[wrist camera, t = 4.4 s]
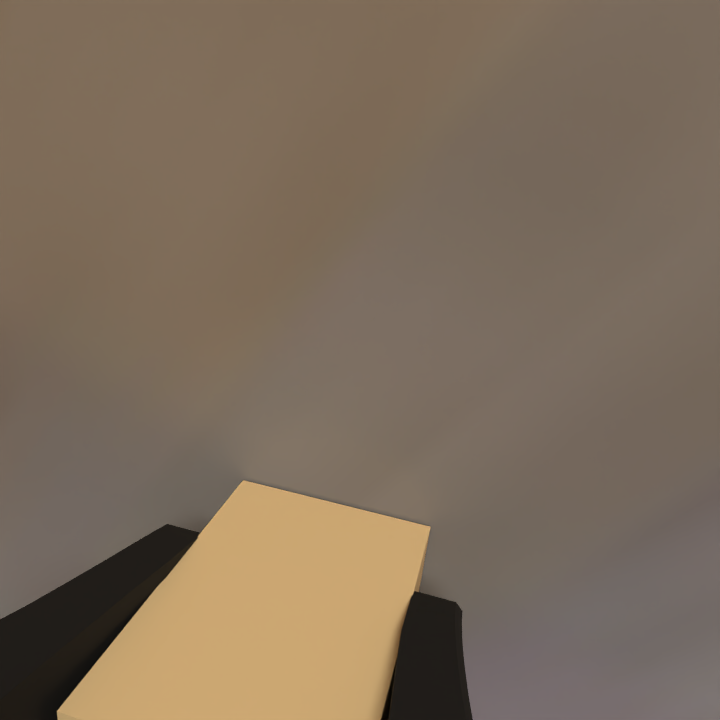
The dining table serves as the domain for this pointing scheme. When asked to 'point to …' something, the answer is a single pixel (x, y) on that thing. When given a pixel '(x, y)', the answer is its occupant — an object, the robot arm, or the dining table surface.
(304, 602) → the tethered block
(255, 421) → the dining table surface
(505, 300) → the dining table surface
